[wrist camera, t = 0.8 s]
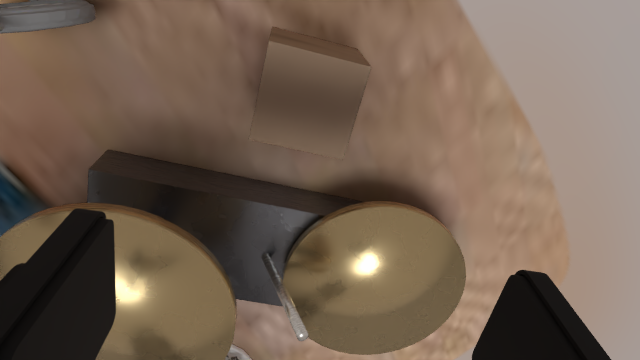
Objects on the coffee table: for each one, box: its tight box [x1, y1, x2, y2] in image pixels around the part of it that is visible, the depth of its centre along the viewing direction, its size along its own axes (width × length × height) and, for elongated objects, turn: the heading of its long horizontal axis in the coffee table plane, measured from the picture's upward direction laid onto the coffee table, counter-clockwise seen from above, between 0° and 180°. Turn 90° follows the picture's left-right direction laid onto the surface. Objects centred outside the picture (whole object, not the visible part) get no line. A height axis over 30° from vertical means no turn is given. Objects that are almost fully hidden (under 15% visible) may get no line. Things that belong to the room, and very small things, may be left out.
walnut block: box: [249, 27, 371, 160], centre depth 29 cm, size 6×6×6 cm
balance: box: [0, 150, 466, 360], centre depth 32 cm, size 14×31×12 cm, turn 75°
